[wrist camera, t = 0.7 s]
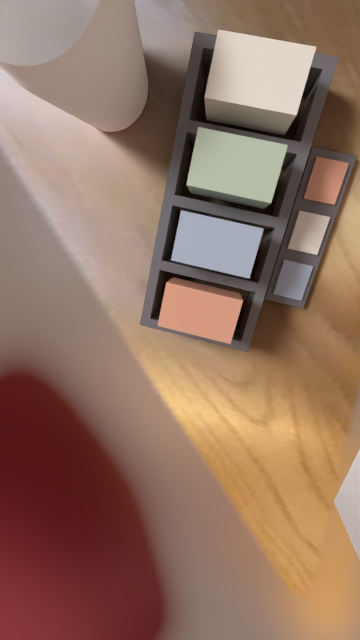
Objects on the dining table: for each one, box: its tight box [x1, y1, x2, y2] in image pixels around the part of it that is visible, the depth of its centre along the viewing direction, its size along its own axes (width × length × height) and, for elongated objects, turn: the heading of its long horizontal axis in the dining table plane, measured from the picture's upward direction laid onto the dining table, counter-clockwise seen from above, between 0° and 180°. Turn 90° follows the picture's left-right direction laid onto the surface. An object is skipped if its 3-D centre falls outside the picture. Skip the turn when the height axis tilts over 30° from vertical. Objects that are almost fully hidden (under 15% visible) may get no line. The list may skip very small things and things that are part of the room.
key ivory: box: [204, 30, 316, 135], centre depth 19 cm, size 4×6×4 cm, turn 78°
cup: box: [0, 0, 148, 132], centre depth 19 cm, size 9×9×12 cm
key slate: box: [171, 210, 264, 278], centre depth 22 cm, size 4×6×4 cm, turn 78°
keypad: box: [140, 32, 339, 352], centre depth 24 cm, size 22×10×4 cm, turn 168°
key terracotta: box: [157, 277, 243, 344], centre depth 24 cm, size 4×6×4 cm, turn 78°
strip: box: [264, 147, 357, 308], centre depth 25 cm, size 13×4×1 cm, turn 168°
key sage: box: [186, 127, 288, 209], centre depth 21 cm, size 4×6×4 cm, turn 78°
